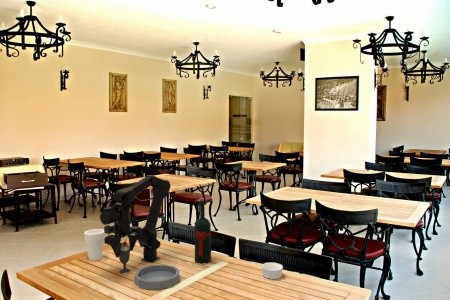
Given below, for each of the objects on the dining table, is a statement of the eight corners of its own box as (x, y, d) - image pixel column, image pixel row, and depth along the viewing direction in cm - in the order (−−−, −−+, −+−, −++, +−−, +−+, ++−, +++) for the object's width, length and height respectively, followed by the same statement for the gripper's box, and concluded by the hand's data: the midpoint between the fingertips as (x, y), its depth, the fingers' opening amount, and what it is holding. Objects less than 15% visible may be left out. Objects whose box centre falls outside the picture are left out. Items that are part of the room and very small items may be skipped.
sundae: (128, 274, 167) (127, 240, 166) (114, 273, 168) (113, 239, 167) (135, 268, 173) (134, 236, 172) (121, 267, 174) (120, 235, 173)
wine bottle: (192, 265, 176) (190, 200, 174) (196, 257, 186) (195, 196, 184) (209, 266, 175) (208, 201, 173) (212, 258, 185) (211, 196, 183)
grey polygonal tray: (152, 269, 173) (152, 262, 172) (187, 275, 165) (187, 268, 165) (126, 284, 156) (125, 277, 156) (163, 293, 149) (162, 285, 148)
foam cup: (98, 253, 194) (97, 227, 193) (109, 256, 188) (108, 230, 187) (81, 258, 186) (80, 232, 185) (92, 262, 181) (91, 235, 180)
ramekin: (285, 273, 166) (285, 264, 166) (279, 281, 158) (279, 271, 158) (265, 270, 170) (265, 261, 169) (258, 278, 162) (258, 268, 161)
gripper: (123, 212, 181) (124, 245, 182) (93, 222, 164) (95, 258, 165) (142, 215, 176) (143, 248, 177) (114, 225, 159) (115, 262, 160)
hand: (124, 254), depth 170 cm, fingers open, 9 cm apart
